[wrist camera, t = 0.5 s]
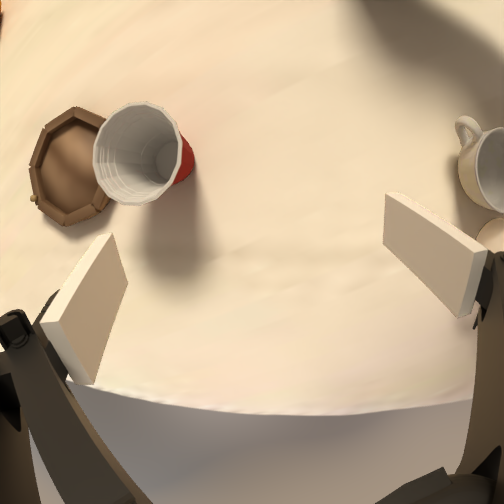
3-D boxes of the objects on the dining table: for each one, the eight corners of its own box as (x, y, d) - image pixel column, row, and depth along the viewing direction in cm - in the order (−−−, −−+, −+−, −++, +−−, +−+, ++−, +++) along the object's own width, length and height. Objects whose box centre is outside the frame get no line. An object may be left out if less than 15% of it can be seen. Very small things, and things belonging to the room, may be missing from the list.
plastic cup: (124, 172, 42) (73, 168, 30) (168, 109, 40) (127, 83, 28) (180, 219, 42) (140, 228, 30) (229, 153, 40) (204, 137, 28)
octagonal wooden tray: (65, 100, 41) (52, 96, 37) (140, 134, 41) (128, 130, 37) (29, 194, 45) (15, 195, 41) (96, 240, 44) (82, 244, 41)
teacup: (513, 185, 35) (545, 186, 27) (471, 225, 37) (502, 232, 29) (469, 104, 34) (497, 90, 26) (421, 139, 36) (447, 128, 28)
